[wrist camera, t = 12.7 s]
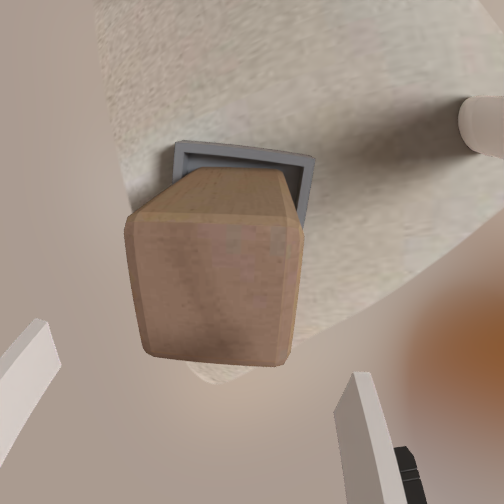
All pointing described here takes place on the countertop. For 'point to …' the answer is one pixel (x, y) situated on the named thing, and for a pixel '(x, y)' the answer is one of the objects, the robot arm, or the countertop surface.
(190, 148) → the tray
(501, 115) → the bottle
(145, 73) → the countertop surface
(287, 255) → the wooden block
